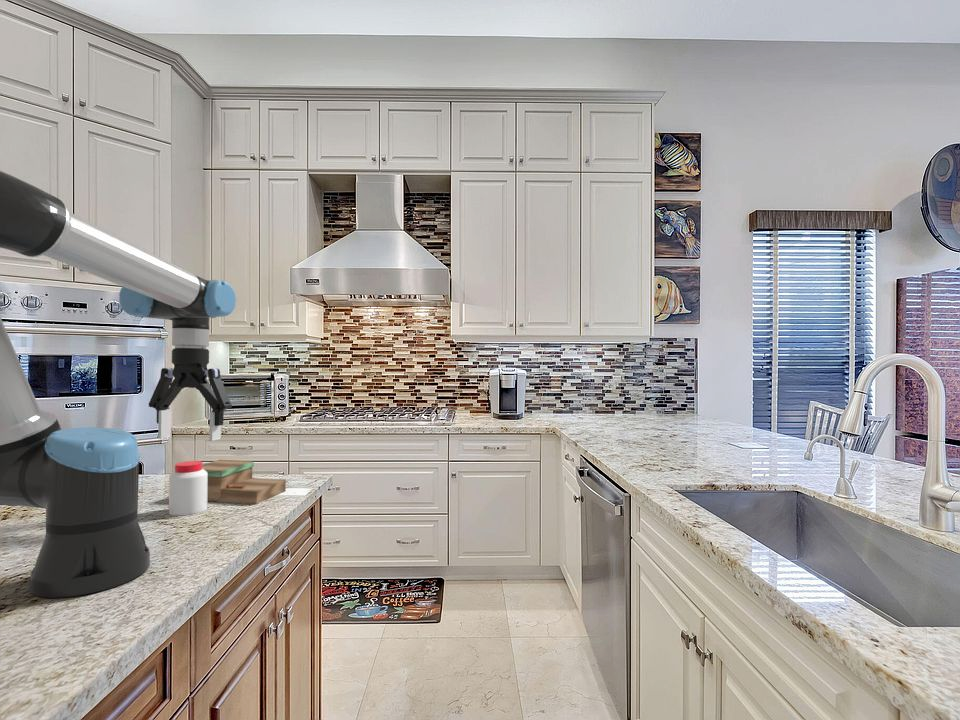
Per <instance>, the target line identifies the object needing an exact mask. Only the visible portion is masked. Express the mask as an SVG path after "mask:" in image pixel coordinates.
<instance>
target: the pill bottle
mask: <svg viewBox="0 0 960 720" xmlns="http://www.w3.org/2000/svg"><path fill="white" fill-rule="evenodd" d="M202 465H203V461H200V460H188V461H181V462H177V463H175V464H174V471H173V472H172V473H171V474H170V475H169V476H168V514H169V516H174V517H175V516H176V517H178V516H179V517H182V516H185V517H186V516H192V515H196V514H200V513H203V512H205V511H207V510H208V507H209V506H208V473H207V471H205V470H204V469H202Z"/></svg>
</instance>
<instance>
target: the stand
mask: <svg viewBox="0 0 960 720" xmlns="http://www.w3.org/2000/svg"><path fill="white" fill-rule="evenodd" d="M254 465H255V464H254V461H252V460H251V461H250V460H235V459H234V460H233V459H232V460H231V459H218V460H215V461H211V462H206V463H202V469H204V470H205V471H207V473H208V501H211V502H223V503H225V502H226V503H239V504H254V505H256V504H257V505H258V504H259V503H262V502H264V501H267V500H269V499H271V498H273V497H275V496H278V495H280V494H282V493H284V492H286V487H287V486H286V483H287V482H286V479H280V478H279V479H275V478H259V477H253V468H254V467H255V466H254Z"/></svg>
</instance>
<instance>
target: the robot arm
mask: <svg viewBox="0 0 960 720" xmlns="http://www.w3.org/2000/svg"><path fill="white" fill-rule="evenodd" d="M0 249H4V250H8V251H11V252H15V253H18V254H20V255H23V256H25V257H27V258H28V257H29V258H37V257H41V256H43V257H47V258H50V259H52V260H55V261H56V262H60V263H62V264H64V265H66V266H70V267H71V268H74V269H77V270H80V271H82V272H85V273H87V274H89V275H93V276H96V277H97V278H100V279H102V280H106V281H108V282H111V283H112V284H115V285H118V286H120V287H121V289H120V291H119V299H118V301H119V305H120V307H121V309H122V310H123V312H124V313H125V314H127V315H129V316H133V317H139V318H142V319H143V318H146V319H147V318H148V319H158V320H170V321H171V326H172V327H171V329H172V330H171V345H172V346H173V347H174V348H172V349H171V364H172V365H173V366H174V367H168V368H167V367H162V368H161V370H160V377H159V380H158V382H157V384H156V387H155V389H154V390H153V393H152V395H151V398H150V400H149V402H148V408H153V409H155V411H156V423H157V425H158V433H157V436H158V437H157V439H158V440H159V439H167V438H168V439H169V438H171V436H172V435H171V427H172V425H171V424H172V423H171V421H172V418H171V417H172V410H171V409H170V406H171V404H172V403H173V402H174V401H175V399H176V398H177V397H178V395H180V393H181V392H182V390H183V389H185V388H188V389H189V388H190V389H196V390H197V391H199V393H200V394H201V395H202V397H203V398H204V399H205V401H206V403H208V406H209V407H210V408H211V409H212V410H211V411H209V431H208V433H209V435H208V436H209V438H208V439H209V442H210V441H212V442H213V441H219V440H221V437H222V435H221V434H222V426H223V425H224V416H225V415H224V414H225V413H224V412H225V411H226V410H229V409H232V407H233V405H232V402H231V399H230V397H229V395H228V393H227V390H226V388H225V385H224V383H223V381H222V378H221V370H220V369H219V368H208V365H209V364H210V350H209V349H208V348H207V347H209V346H210V318H211V319H215V318H219V317H222V318H223V317H227V316H229V315H231V314H232V313H233V311H234V310H235V308H236V302H237V295H236V292H235V289H234V288H233V286H232V285H231V284H230V283H228V282H227V281H224V280H219V279H218V280H217V279H210V280H207V279H205V278H203V277H200V276H198V275H196V274H194V273H192V272H190V271H188V270H186V269H184V268H182V267H180V266H178V265H176V264H174V263H172V262H171V261H168V260H166V259H164V258H162V257H160V256H158V255H156V254H155V253H153V252H150V251H148V250H146V249H144V248H142V247H140V246H138V245H137V244H135V243H133V242H130V241H128V240H126V239H125V238H122V237H120V236H118V235H116V234H115V233H112V232H110V231H109V230H106V229H104V228H103V227H101V226H99V225H97V224H94V223H92V222H90V221H89V220H87V219H84V218H83V217H81V216H79V215H77V214H75V213H72V212H70V211H69V209H68V206H67V205H66V203H65V202H64V201H63V200H61V199H60V198H58V197H56V196H55V195H52V194H50V193H48V192H47V191H45V190H43V189H41V188H39V187H37V186H35V185H32V184H30V183H28V182H26V181H24V180H22V179H20V178H17V177H15V176H13V175H12V174H8V173H7V172H3V171H1V170H0ZM207 378H208V379H207ZM139 471H140V454H139V448H138V440H137V438H136V436H135V435H134V434H133V433H131V432H129V431H126V430H123V429H118V428H110V427H92V426H91V427H90V426H88V427H87V426H86V427H70V428H65V429H64V428H63V429H62V428H61V425H60V423H59V420H58V418H57V416H56V415H55V414H54V413H51V412H48V411H44V410H42V409H41V408H40V406H39V404H38V401H37V399H36V396H35V394H34V392H33V389H32V387H31V385H30V383H29V381H28V378H27V376H26V373H25V371H24V369H23V367H22V365H21V361H20V359H19V357H18V355H17V353H16V350H15V348H14V346H13V344H12V341H11V339H10V336H9V334H8V331H7V330H6V327H5V324H4V322H3V320H2V318H1V316H0V506H7V507H18V506H19V507H26V508H27V507H30V508H37V509H39V508H40V509H45V536H44V540H43V543H42V545H41V547H40V550H39V552H38V555H37V558H36V562H35V565H34V567H33V568H32V570H31V572H30V575H29V592H30V593H31V594H32V595H34V596H36V597H40V598H57V599H58V598H68V597H69V598H70V597H76V596H81V595H88V594H93V593H97V592H101V591H104V590H108V589H111V588H114V587H118V586H121V585H122V584H126V583H128V582H130V581H132V580H134V579H137V578H138V577H139V576H141V575H143V574H144V573H145V572H146V571H147V570H148V569H149V568H150V566H151V564H150V563H151V552H150V548H149V547H148V546H147V543H146V540H145V537H144V534H143V532H142V530H141V529H142V528H141V526H140V524H139V518H138V514H139V513H138V508H139V505H138V504H139V475H140V474H139Z"/></svg>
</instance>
